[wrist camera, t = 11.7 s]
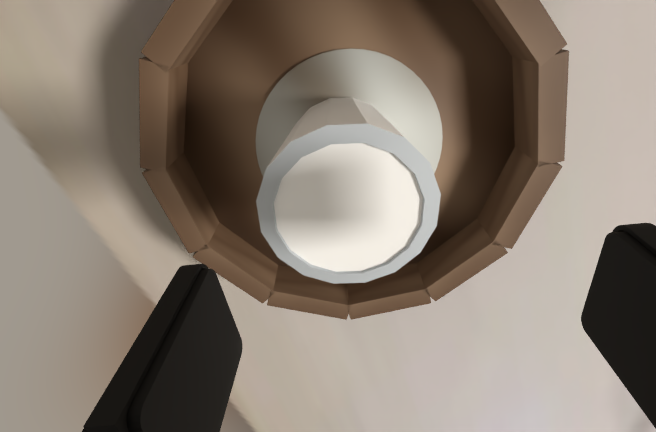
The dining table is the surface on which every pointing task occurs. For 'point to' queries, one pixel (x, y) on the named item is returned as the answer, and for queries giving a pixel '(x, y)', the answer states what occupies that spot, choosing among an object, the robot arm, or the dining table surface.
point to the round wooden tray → (370, 87)
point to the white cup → (347, 195)
